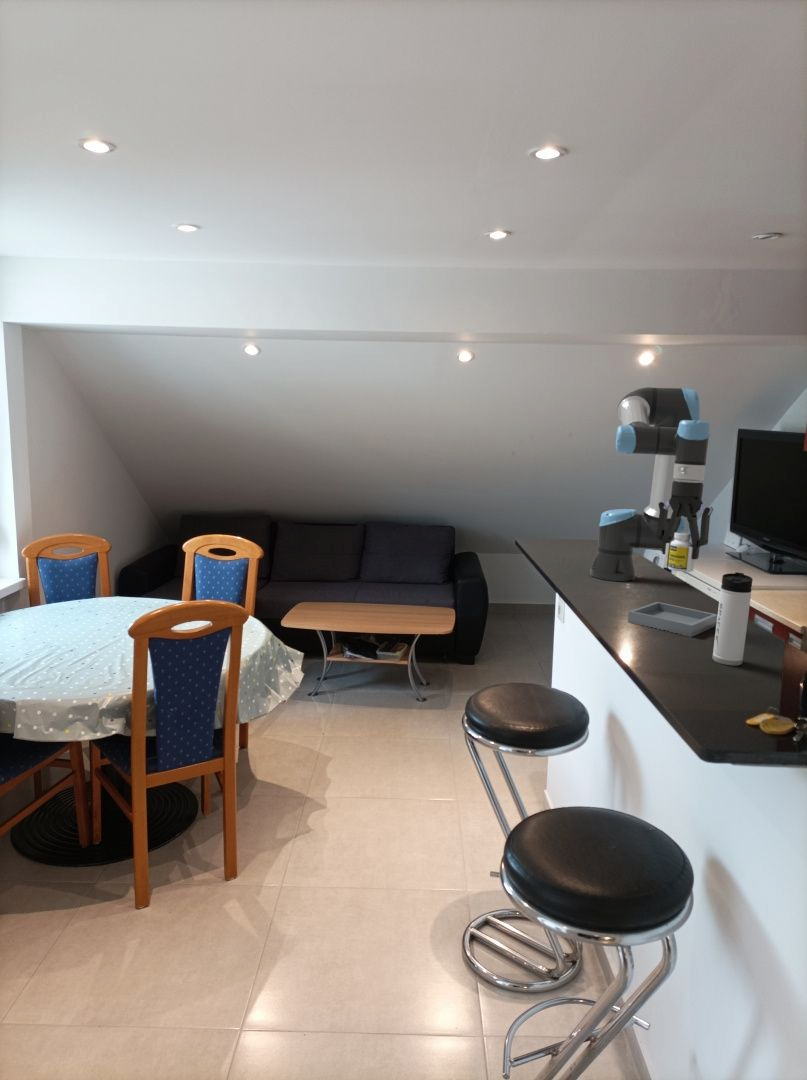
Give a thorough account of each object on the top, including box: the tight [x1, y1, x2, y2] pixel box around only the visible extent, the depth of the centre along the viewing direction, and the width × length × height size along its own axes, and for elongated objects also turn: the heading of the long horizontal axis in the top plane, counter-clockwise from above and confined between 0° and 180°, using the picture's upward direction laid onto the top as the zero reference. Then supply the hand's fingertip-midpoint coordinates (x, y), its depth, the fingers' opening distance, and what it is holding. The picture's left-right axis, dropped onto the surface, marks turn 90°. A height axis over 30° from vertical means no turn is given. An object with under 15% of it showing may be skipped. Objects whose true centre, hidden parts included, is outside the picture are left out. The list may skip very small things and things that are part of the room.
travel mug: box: [712, 571, 753, 667], centre depth 168 cm, size 6×7×20 cm
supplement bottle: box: [667, 531, 692, 573], centre depth 196 cm, size 5×5×10 cm
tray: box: [627, 601, 718, 638], centre depth 199 cm, size 17×17×3 cm
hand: (678, 568), depth 197 cm, fingers closed on supplement bottle, 5 cm apart
